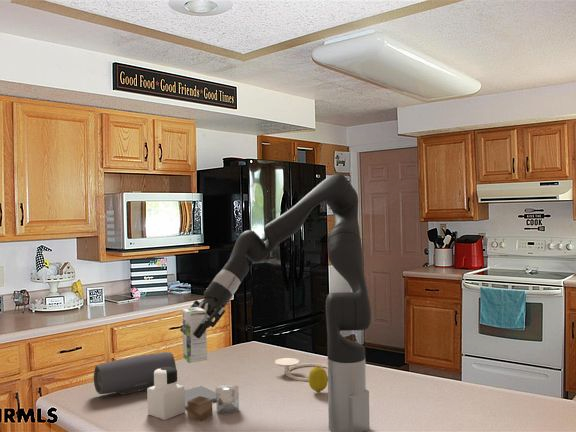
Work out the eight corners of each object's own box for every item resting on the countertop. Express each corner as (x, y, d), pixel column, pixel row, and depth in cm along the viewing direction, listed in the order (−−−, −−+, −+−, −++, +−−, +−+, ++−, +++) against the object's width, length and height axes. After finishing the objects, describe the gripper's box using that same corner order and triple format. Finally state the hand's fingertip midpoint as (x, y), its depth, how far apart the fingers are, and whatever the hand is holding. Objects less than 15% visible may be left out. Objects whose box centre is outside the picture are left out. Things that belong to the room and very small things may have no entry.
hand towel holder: (340, 368, 170) (274, 369, 170) (340, 382, 170) (274, 383, 170) (334, 353, 187) (274, 354, 187) (334, 366, 187) (274, 367, 187)
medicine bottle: (168, 406, 151) (167, 363, 151) (185, 412, 147) (184, 367, 146) (147, 414, 146) (146, 369, 145) (164, 420, 141) (163, 374, 141)
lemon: (326, 396, 157) (326, 368, 156) (307, 395, 158) (307, 368, 157) (329, 390, 162) (328, 363, 162) (310, 389, 163) (310, 362, 163)
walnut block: (212, 416, 144) (212, 399, 144) (200, 421, 140) (200, 404, 140) (199, 412, 146) (199, 396, 146) (187, 418, 143) (187, 401, 143)
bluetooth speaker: (165, 378, 176) (164, 347, 176) (177, 385, 169) (176, 353, 168) (93, 393, 163) (92, 360, 162) (103, 402, 155) (102, 367, 155)
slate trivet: (223, 398, 156) (223, 395, 156) (186, 409, 149) (186, 406, 149) (201, 388, 165) (201, 385, 165) (165, 398, 158) (165, 395, 158)
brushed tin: (243, 410, 147) (242, 388, 147) (224, 416, 143) (224, 393, 143) (230, 404, 152) (230, 383, 152) (212, 409, 148) (211, 387, 148)
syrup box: (182, 358, 159) (180, 308, 158) (202, 355, 161) (200, 306, 161) (187, 363, 153) (185, 311, 153) (208, 360, 156) (206, 309, 155)
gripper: (244, 298, 159) (211, 346, 152) (217, 293, 170) (185, 337, 163) (228, 282, 156) (193, 331, 149) (201, 278, 167) (168, 323, 160)
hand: (189, 334), depth 156 cm, fingers closed on syrup box, 6 cm apart
